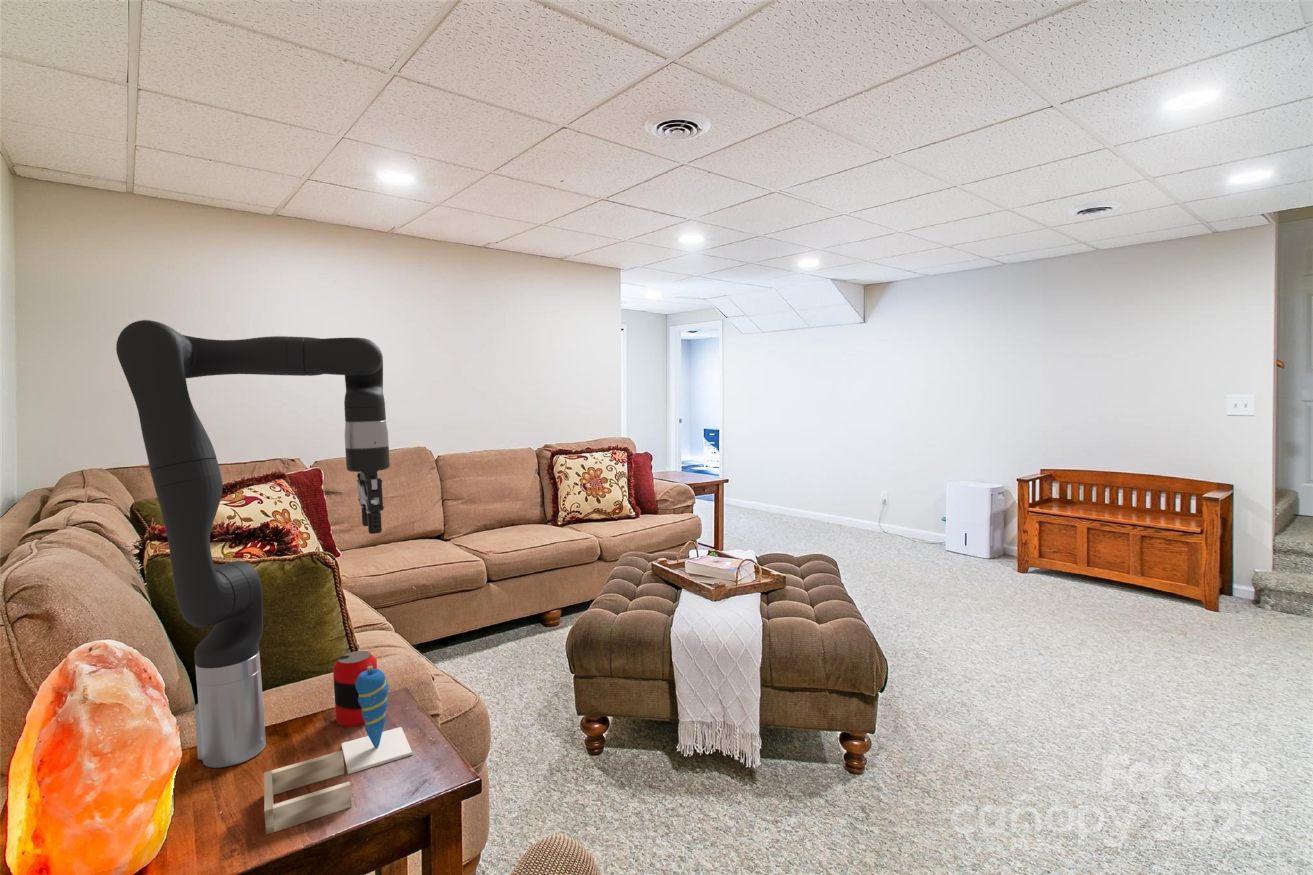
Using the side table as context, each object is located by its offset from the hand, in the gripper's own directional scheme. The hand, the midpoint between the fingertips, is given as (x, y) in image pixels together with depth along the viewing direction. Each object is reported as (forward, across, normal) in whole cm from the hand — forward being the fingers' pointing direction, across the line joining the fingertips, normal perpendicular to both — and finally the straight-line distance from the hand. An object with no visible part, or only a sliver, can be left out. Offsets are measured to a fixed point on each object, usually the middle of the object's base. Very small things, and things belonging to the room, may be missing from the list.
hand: (371, 529), depth 123 cm
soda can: (+36, 0, +4) cm, 37 cm away
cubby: (+36, -23, +14) cm, 45 cm away
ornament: (+36, -14, +3) cm, 39 cm away
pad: (+36, -14, +3) cm, 39 cm away
